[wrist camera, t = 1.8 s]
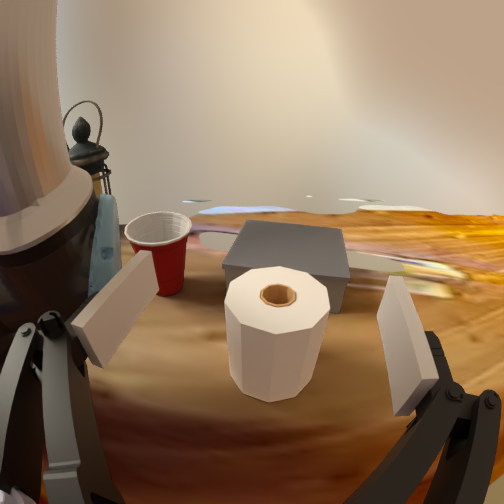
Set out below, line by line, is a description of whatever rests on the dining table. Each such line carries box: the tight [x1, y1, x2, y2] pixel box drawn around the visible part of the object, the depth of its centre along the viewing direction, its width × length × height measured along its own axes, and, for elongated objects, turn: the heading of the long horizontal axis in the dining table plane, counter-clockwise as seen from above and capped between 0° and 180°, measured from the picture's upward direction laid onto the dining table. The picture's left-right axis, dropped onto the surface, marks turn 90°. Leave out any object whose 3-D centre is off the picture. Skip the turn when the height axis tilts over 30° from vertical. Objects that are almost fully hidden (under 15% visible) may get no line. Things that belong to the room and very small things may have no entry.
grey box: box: [222, 220, 351, 313], centre depth 48 cm, size 19×17×7 cm
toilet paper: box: [224, 266, 330, 403], centre depth 30 cm, size 10×10×12 cm
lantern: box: [63, 100, 111, 197], centre depth 57 cm, size 14×13×35 cm
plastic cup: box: [124, 211, 192, 296], centre depth 44 cm, size 11×11×12 cm
